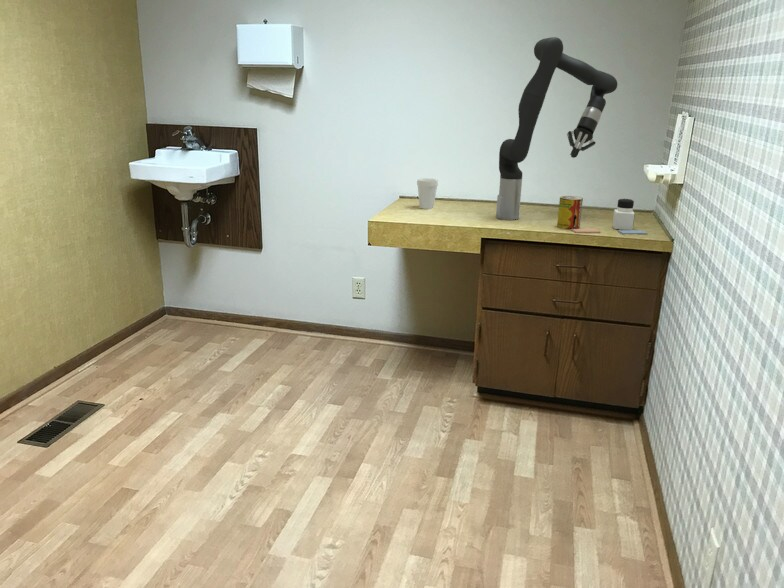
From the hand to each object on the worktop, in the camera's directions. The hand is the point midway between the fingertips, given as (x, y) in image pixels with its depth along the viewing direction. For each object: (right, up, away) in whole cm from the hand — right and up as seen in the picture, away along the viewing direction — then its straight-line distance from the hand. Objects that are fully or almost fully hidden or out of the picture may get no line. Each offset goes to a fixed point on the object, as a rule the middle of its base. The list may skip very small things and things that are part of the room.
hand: (572, 157), depth 272 cm
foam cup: (-61, -18, +25) cm, 68 cm away
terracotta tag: (0, -33, -18) cm, 38 cm away
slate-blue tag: (+18, -34, -19) cm, 43 cm away
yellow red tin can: (-5, -31, -10) cm, 33 cm away
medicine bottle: (+17, -31, -10) cm, 37 cm away
